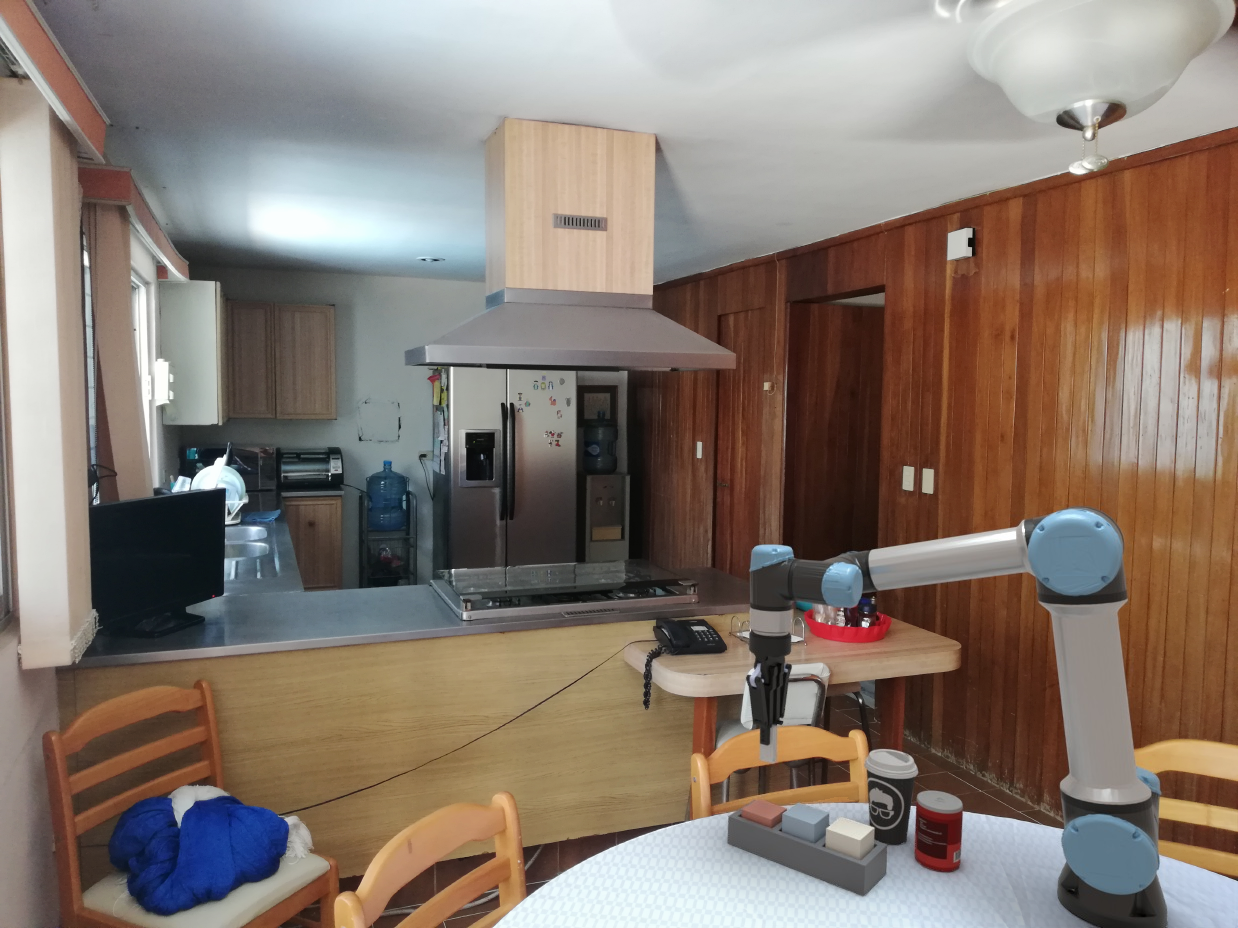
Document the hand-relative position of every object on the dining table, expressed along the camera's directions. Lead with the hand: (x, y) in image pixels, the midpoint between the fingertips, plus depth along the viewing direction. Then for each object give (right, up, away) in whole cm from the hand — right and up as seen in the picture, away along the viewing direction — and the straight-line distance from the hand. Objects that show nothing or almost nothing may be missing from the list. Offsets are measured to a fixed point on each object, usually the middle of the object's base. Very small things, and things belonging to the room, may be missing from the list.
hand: (768, 760), depth 151 cm
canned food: (+29, -16, -4) cm, 34 cm away
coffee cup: (+23, -16, +4) cm, 29 cm away
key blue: (+6, -12, -5) cm, 14 cm away
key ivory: (+12, -12, -10) cm, 20 cm away
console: (+6, -16, -4) cm, 17 cm away
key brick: (-1, -13, +1) cm, 13 cm away
